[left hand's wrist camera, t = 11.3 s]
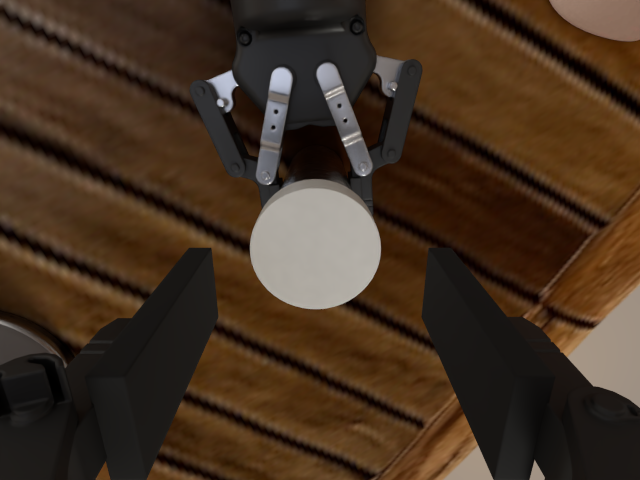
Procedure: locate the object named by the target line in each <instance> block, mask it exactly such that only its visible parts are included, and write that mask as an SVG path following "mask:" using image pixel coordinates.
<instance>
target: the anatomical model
mask: <svg viewBox="0 0 640 480" xmlns="http://www.w3.org/2000/svg"><path fill="white" fill-rule="evenodd" d="M549 1H550V3H551V4H552V6H553V7H554V9H555V10H556V11H557V12H558V14H559V15H561V16H562V17H563V18H564V19H565V20H567V21H568V22H570V23H571V24H572V25H574V26H576V27H578V28H580V29H582V30H584V31H586V32H589V33H592V34H595V35H597V36H601V37H604V38H608V39H612V40H618V41H636V40H640V0H549Z"/></svg>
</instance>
